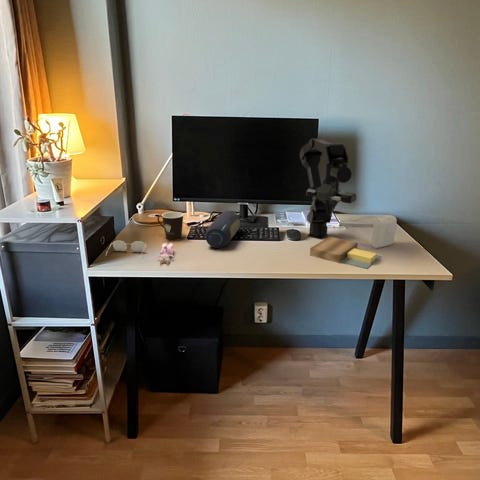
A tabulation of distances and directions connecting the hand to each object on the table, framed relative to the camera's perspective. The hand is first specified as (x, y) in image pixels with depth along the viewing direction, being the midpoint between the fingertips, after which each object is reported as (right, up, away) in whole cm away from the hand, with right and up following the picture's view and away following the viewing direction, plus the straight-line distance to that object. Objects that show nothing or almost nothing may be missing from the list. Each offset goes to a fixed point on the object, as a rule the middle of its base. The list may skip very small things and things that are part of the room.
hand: (329, 216), depth 182 cm
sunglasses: (-78, -16, -7) cm, 80 cm away
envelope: (+17, -2, +32) cm, 36 cm away
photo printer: (+22, -12, +4) cm, 25 cm away
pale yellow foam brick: (+10, -16, -10) cm, 21 cm away
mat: (+10, -17, -10) cm, 22 cm away
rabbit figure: (-63, -16, -9) cm, 65 cm away
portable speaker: (-42, -10, +9) cm, 44 cm away
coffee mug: (-63, -8, +12) cm, 65 cm away
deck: (+1, -14, -4) cm, 15 cm away
